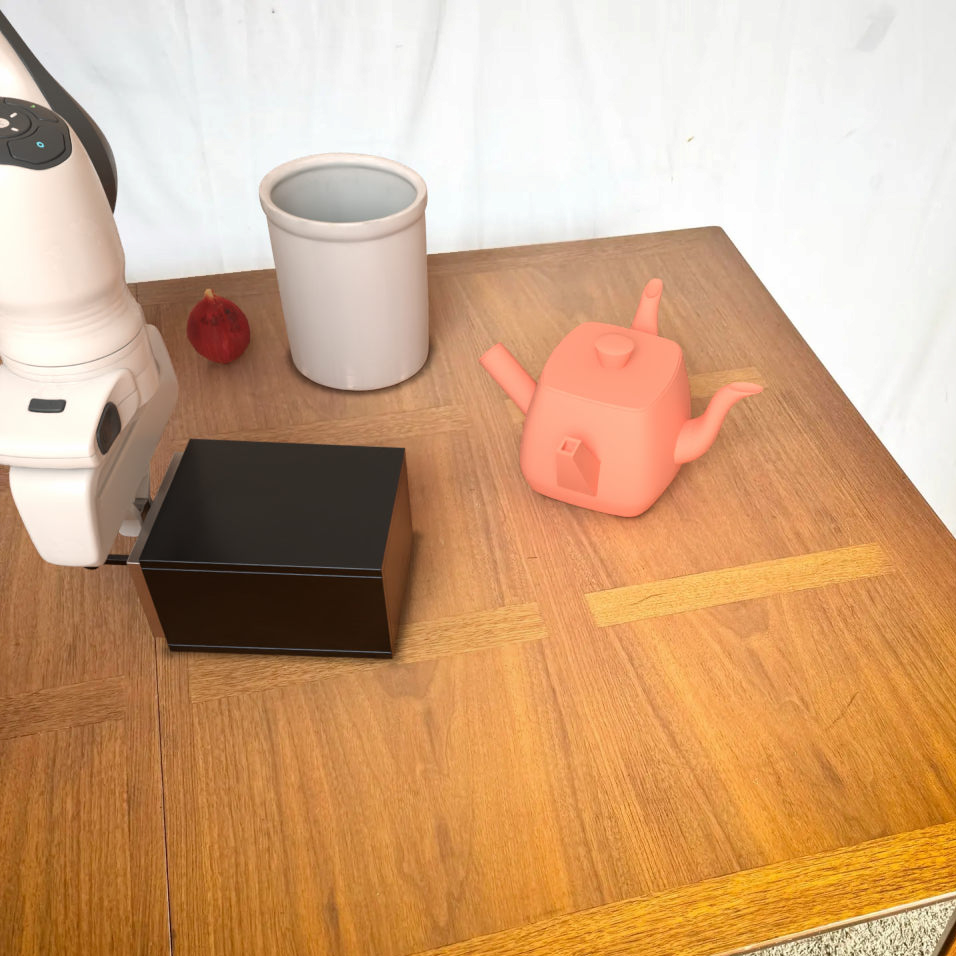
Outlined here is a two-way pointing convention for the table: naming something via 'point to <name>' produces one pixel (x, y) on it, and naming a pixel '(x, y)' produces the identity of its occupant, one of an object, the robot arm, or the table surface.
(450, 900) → the table surface
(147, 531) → the drawer
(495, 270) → the table surface
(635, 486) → the teapot
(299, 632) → the cabinet
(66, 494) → the robot arm
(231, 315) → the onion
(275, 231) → the utensil holder
